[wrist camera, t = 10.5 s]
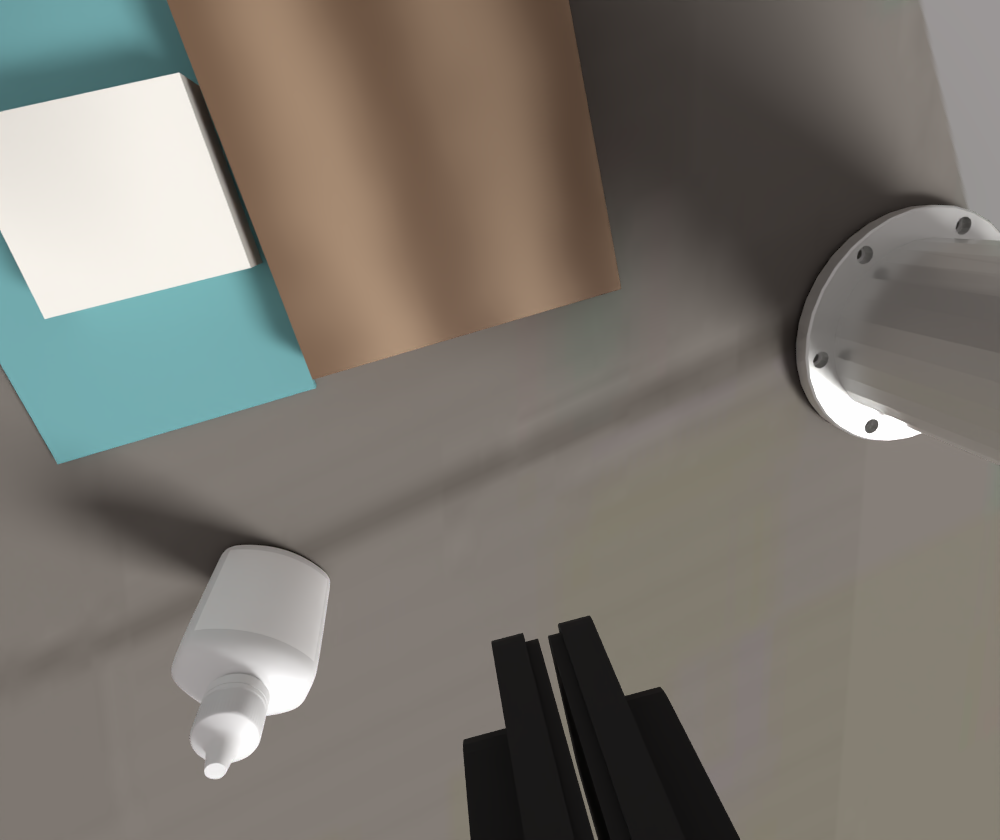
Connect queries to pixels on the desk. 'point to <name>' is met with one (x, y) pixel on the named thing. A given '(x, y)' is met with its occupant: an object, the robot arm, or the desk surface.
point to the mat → (142, 319)
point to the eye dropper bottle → (250, 648)
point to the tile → (118, 195)
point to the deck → (406, 163)
